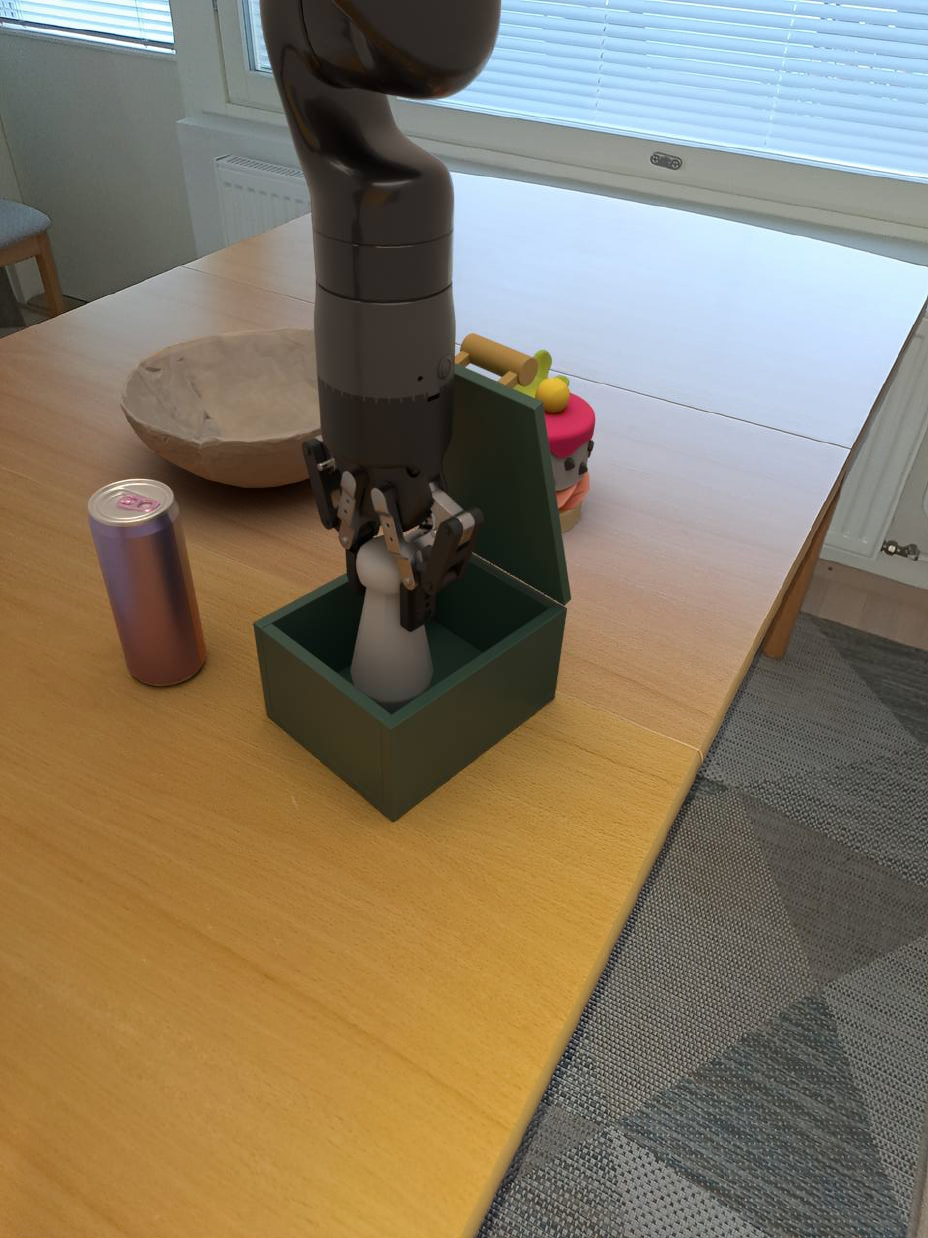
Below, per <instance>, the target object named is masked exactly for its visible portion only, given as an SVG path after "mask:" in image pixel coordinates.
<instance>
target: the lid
mask: <svg viewBox="0 0 928 1238" xmlns="http://www.w3.org/2000/svg"><path fill="white" fill-rule="evenodd" d="M470 364H471V365H472V366H475V367H477V368H479V369H482V370H484V371H487V372H489V373H491V374H493V375H496V376H499V377H500V378H499V379H498V380H494V379H493V378H491V377H488V376H485V375H483V374H481V373H479V372H476V371H475V370H472V369H470V368H467V366H469V365H470ZM537 372H538V362H537V360H536V359H535V358H534V356H531V355H529V354H527V353H524V352H521V351H520V350H516V349H514V348H512V347H509V346H507V345H505V344H503V343H499V342H498V341H494V340H492V339H490V338H487V337H485V336H483V335H480V334H478V333H474V332H471V333H468V334H467V335H466V336H465V337H464V338H463V340H462V341H461V344H460V347H459V353H457V354H455V370H454V403H453V434H452V439H451V442H450V444H449V446H448V448H447V450H446V453H445V455H444V458H443V461H442V468H443V473H444V476H445V479H446V482H447V487H448V491H447V495H448V496H449V497H451V498H452V499H453V500H454V501H455V502H456V503H457V504H458V505H459V506H460V507H461V508H462V509H464V510H465V509H467V508H469V507H471V506H476V507H478V508H479V509H480V510H481V512H482V513H483V516H484V522H483V525H482V527H481V530H480V533H479V535H478V538H477V541H476V543H475V546H474V549H473V551H472V553H473V554H475V555H477V556H478V557H480V558H482V559H483V560H485V561H487V562H489V563H490V564H492V565H494V566H495V567H497V568H499V569H501V570H502V571H504V572H506V573H507V574H509V575H511V576H513V577H514V578H516V579H518V580H519V581H521V582H523V583H525V584H526V585H528V586H530V587H531V588H533V589H535V590H537V591H538V592H540V593H542V594H543V595H545V596H547V597H549V598H550V599H552V600H554V601H555V602H557V603H559V604H561V605H563V606H565V607H566V605H567V604H568V603H569V602H570V601H571V600H572V594H571V588H570V581H569V572H568V567H567V559H566V552H565V545H564V538H563V533H562V531H561V524H560V517H559V510H558V503H557V496H556V489H555V482H554V475H553V468H552V461H551V455H550V448H549V441H548V434H547V427H546V420H545V413H544V406H543V402H542V401H540V400H538V399H536V398H533V397H531V396H529V395H527V394H524V393H522V392H520V391H517V390H515V389H513V388H514V387H515V386H516V385H517V384H519V385H521V386H528V385H530V384H531V383H532V382H533V380H534V379H535V377H536V375H537Z"/></svg>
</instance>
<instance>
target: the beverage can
mask: <svg viewBox="0 0 928 1238" xmlns="http://www.w3.org/2000/svg"><path fill="white" fill-rule="evenodd" d="M87 512H88V517H87V522H88V527H89V530H90V533H91V538H92V541H93V545H94V549H95V552H96V557H97V560H98V563H99V567H100V571H101V574H102V578H103V579H102V580H103V582H104V587H105V589H106V594H107V597H108V600H109V605H110V609H111V612H112V616H113V620H114V623H115V627H116V631H117V635H118V638H119V643H120V646H121V649H122V653H123V657H124V661H125V664H126V668H127V671H128V673H130V674H131V675H132V676H133V677H134V678H135V679H137V680H138V681H140V683H141V682H142V683H144V684H146V685H149V686H152V687H153V686H154V687H169V686H174V685H178V684H181V683H183V682H186V681H187V680H190V678H192V677H193V676H195V675H196V674H197V673H198V672H199V670H200V669H201V668H202V666H203V664H204V662H205V660H206V657H207V647H206V642H205V636H204V630H203V626H202V622H201V615H200V610H199V605H198V599H197V595H196V590H195V583H194V579H193V573H192V568H191V563H190V558H189V552H188V548H187V541H186V537H185V532H184V531H185V530H184V527H183V520H182V515H181V510H180V506H179V504H178V502H177V500H176V499H175V494H174V492H173V490H172V488H170V487H169V486H168V485H167V484H165V483H163V482H161V481H158V480H156V479H151V478H150V479H149V478H129V479H123V480H118V481H115V482H111V483H109V484H107V485H105V486H102V487H101V488H99V489H97V490H96V491H95V492H93V494H92V495H91V496H90V497H89V500H88V502H87Z"/></svg>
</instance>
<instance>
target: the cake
mask: <svg viewBox="0 0 928 1238" xmlns="http://www.w3.org/2000/svg"><path fill="white" fill-rule="evenodd" d="M533 357H534V358H535V359H536V360H537V362H538V372H537V375H536V377H535V379H534V380H533V382H532V383H531V384H530V385H528V386H521V385H519V384H517V385H516V386H515V387H514V388H513V389H515V390H517V391H520V392H522V393H524V394H527V395H529V396H531V397H533V398H536V399H538V400H540V401H542V402H543V406H544V413H545V420H546V427H547V434H548V441H549V448H550V455H551V461H552V468H553V475H554V482H555V489H556V496H557V503H558V510H559V517H560V524H561V531H562V534H564V533H566V532H568V531H570V530H572V528H574V527H575V526H576V525H577V524H578V522H579V519H580V516H581V512H582V504H583V500H584V498H585V497H586V495H587V494H588V493H589V490H590V474H589V468H588V461H589V460H588V459H589V458H590V457H591V455H592V452H593V450H594V446H595V441H594V440H593V437H594V434H595V426H596V414H595V411H594V408H593V407H592V406H591V405H590V404H589V402H587V401H586V400H585V399H584V398H582V397H581V396H579V395H577V394H575V393H572V392H571V390H570V388H569V385H570V379H569V378H568V377H567V376H566V375H562V374H561V375H560V374H559V375H556V376H554V377H549V373H550V370H551V367H552V363H553V358H552V355H551V354H550V352H549V351H547V350H546V349H540V350H538V351H537V352H535V354H534V355H533Z"/></svg>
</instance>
